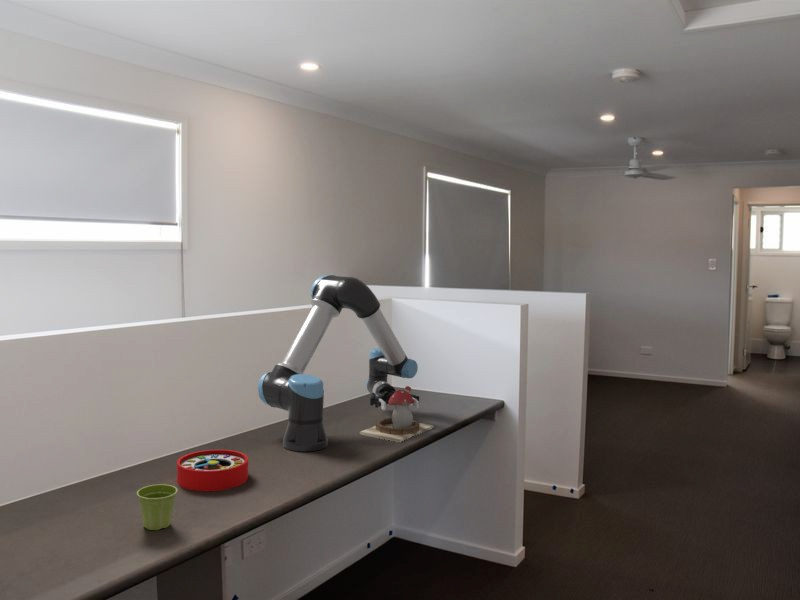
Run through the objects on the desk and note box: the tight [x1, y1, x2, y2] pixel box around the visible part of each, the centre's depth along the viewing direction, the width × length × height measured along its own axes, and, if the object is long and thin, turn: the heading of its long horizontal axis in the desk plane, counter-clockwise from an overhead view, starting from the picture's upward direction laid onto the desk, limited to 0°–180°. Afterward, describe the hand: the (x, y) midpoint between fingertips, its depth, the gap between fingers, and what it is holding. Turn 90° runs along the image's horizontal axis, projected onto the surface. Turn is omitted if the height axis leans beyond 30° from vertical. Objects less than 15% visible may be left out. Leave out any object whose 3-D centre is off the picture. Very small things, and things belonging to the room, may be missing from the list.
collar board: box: [359, 417, 434, 443], centre depth 259 cm, size 24×17×3 cm
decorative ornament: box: [388, 386, 414, 428], centre depth 259 cm, size 9×7×15 cm
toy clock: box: [176, 449, 249, 492], centre depth 204 cm, size 20×6×20 cm
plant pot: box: [136, 483, 179, 531], centre depth 170 cm, size 9×9×9 cm
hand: (401, 405), depth 255 cm, fingers open, 12 cm apart
